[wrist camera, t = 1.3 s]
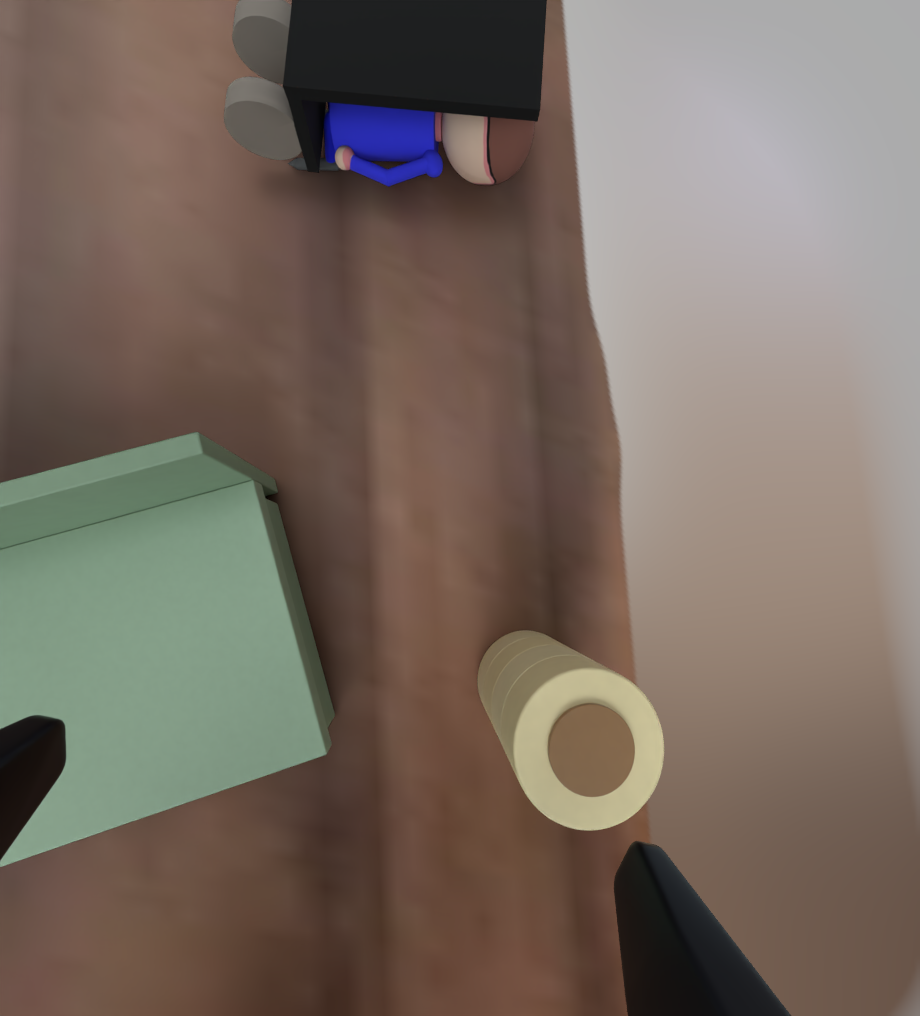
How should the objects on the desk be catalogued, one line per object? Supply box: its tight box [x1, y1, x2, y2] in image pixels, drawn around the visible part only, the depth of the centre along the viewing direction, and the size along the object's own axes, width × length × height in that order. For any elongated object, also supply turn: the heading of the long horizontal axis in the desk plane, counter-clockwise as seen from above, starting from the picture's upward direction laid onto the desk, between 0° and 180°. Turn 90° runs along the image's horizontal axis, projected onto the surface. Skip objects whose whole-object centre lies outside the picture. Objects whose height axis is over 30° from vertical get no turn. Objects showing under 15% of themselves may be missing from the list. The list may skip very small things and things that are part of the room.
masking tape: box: [477, 630, 664, 830], centre depth 20 cm, size 5×5×10 cm
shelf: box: [0, 432, 335, 867], centre depth 19 cm, size 13×18×9 cm
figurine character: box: [224, 0, 547, 187], centre depth 25 cm, size 7×8×15 cm
